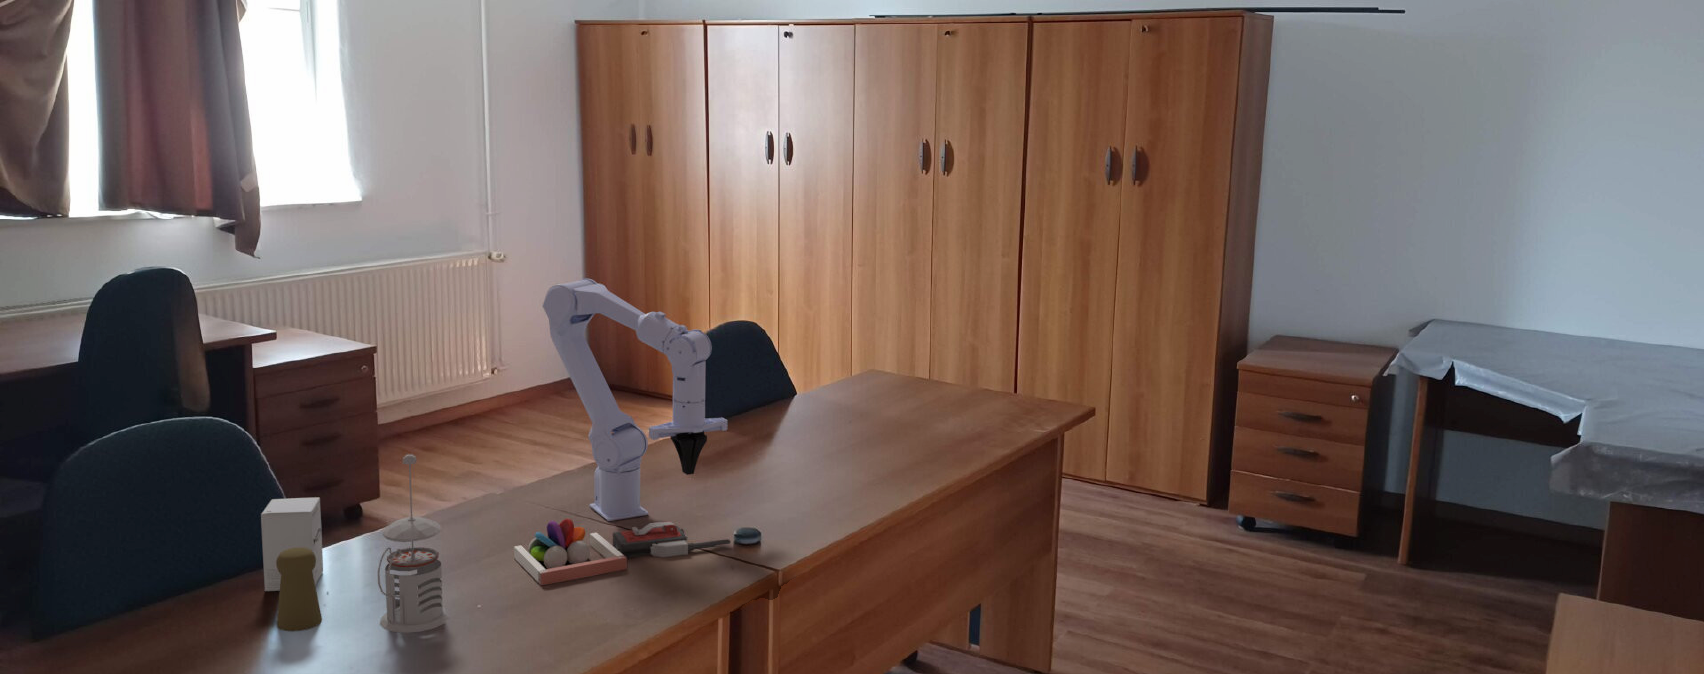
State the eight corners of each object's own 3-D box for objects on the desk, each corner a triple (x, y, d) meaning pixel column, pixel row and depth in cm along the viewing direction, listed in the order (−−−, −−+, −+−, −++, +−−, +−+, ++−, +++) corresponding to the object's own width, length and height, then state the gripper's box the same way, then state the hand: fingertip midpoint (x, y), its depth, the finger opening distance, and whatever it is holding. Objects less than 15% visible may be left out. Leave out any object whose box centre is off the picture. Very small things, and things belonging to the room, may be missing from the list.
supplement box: (315, 589, 191) (311, 511, 189) (263, 592, 190) (258, 513, 187) (325, 571, 198) (321, 496, 196) (275, 573, 197) (270, 497, 194)
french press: (463, 610, 186) (459, 449, 181) (414, 642, 175) (408, 471, 170) (408, 600, 188) (402, 441, 184) (356, 630, 178) (348, 463, 173)
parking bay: (514, 557, 207) (514, 546, 206) (596, 543, 215) (596, 532, 214) (541, 585, 196) (540, 573, 196) (626, 568, 204) (626, 557, 203)
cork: (293, 634, 176) (289, 561, 174) (267, 623, 179) (263, 551, 177) (331, 620, 181) (327, 548, 179) (305, 610, 184) (301, 539, 182)
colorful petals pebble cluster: (597, 563, 206) (597, 521, 204) (543, 576, 200) (542, 533, 198) (573, 548, 212) (573, 507, 211) (520, 560, 206) (519, 518, 205)
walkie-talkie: (618, 565, 206) (732, 551, 214) (618, 540, 205) (732, 526, 214) (605, 547, 214) (715, 534, 222) (605, 523, 213) (716, 510, 221)
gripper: (660, 408, 213) (660, 484, 216) (735, 400, 221) (734, 473, 224) (643, 399, 219) (643, 473, 222) (717, 391, 227) (716, 462, 229)
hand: (688, 472), depth 223 cm, fingers closed
